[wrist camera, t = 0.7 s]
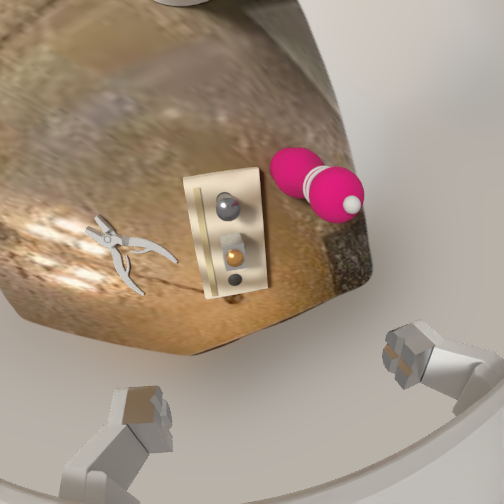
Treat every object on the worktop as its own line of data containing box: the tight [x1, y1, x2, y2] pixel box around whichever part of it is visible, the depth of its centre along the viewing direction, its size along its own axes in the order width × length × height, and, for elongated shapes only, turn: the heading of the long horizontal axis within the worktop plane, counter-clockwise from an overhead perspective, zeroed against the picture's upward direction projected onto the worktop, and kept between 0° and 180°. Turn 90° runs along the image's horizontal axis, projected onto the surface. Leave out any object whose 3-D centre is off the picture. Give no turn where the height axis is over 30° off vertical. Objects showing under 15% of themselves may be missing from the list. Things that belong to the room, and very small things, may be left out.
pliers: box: [85, 215, 178, 295], centre depth 43 cm, size 10×2×15 cm
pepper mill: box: [270, 148, 364, 223], centre depth 34 cm, size 7×7×20 cm
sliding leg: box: [219, 232, 246, 272], centre depth 42 cm, size 4×3×5 cm
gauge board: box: [183, 167, 268, 300], centre depth 45 cm, size 21×11×2 cm, turn 5°
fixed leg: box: [216, 193, 240, 221], centre depth 39 cm, size 3×3×5 cm
